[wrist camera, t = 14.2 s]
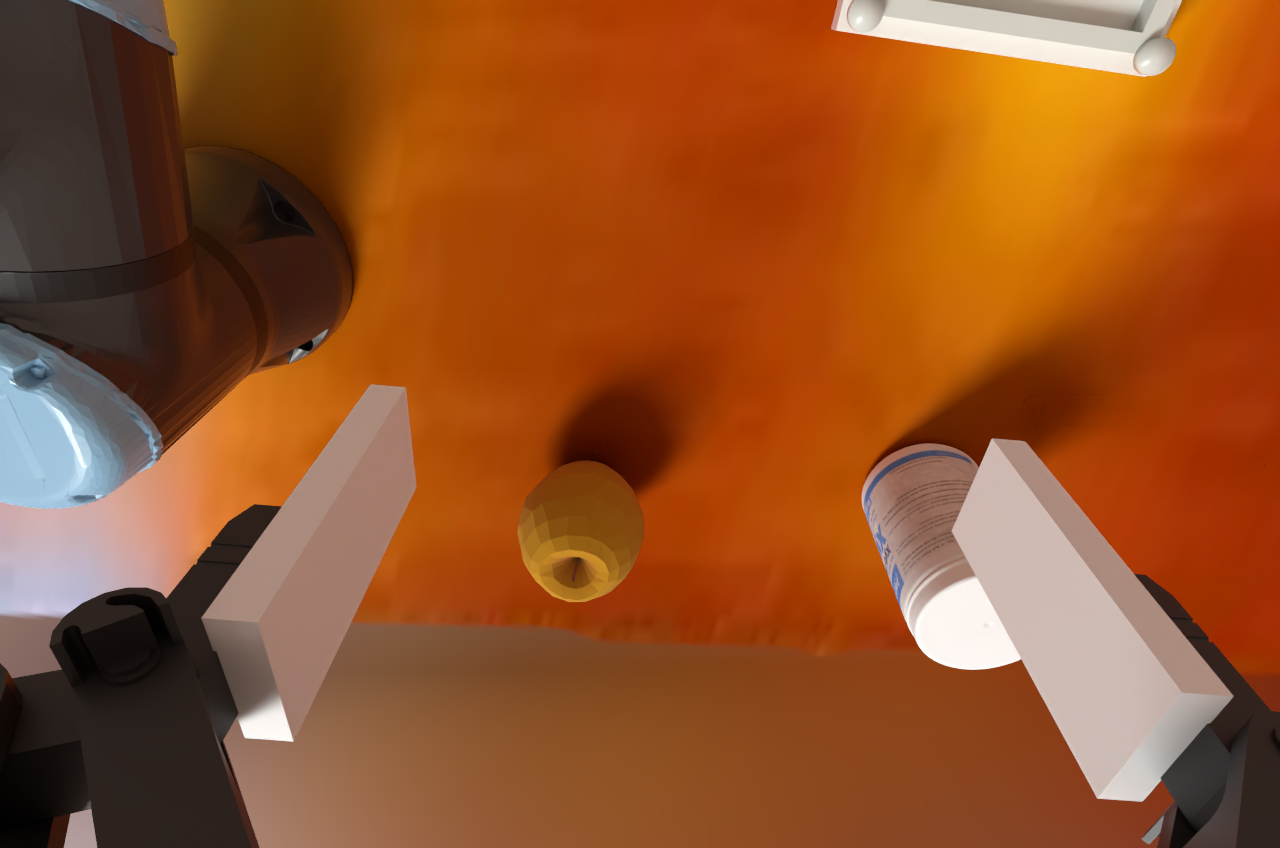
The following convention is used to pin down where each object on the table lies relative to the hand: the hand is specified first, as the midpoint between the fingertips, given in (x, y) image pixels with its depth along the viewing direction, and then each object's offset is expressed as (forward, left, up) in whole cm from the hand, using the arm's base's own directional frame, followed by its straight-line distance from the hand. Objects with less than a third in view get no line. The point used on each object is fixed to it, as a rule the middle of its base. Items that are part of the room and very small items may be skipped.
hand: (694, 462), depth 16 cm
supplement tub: (+23, -23, -34) cm, 47 cm away
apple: (-4, -27, -34) cm, 43 cm away
